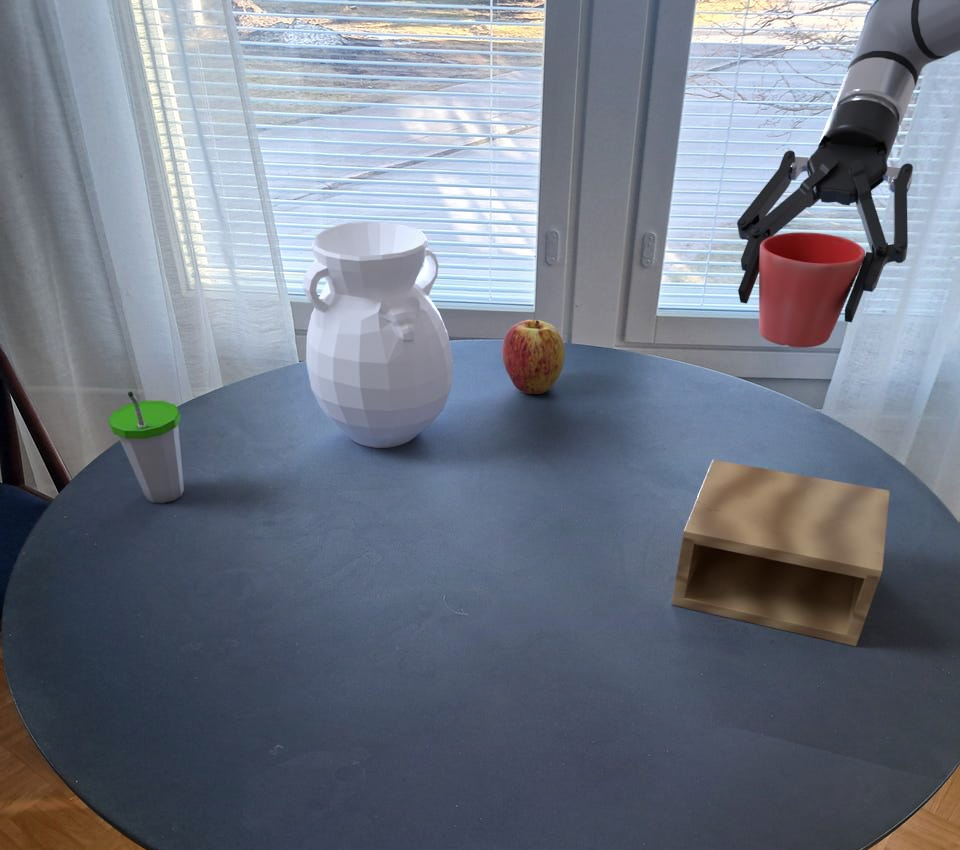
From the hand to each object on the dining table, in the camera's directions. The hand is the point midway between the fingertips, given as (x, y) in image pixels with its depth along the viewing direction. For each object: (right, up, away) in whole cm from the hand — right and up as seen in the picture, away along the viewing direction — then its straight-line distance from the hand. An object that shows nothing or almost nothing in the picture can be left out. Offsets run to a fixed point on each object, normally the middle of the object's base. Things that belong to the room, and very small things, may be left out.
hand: (794, 306), depth 98 cm
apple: (-27, 0, +33) cm, 42 cm away
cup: (-73, -19, +11) cm, 76 cm away
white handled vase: (-47, -9, +23) cm, 53 cm away
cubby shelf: (-4, -31, -4) cm, 31 cm away
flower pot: (+2, -2, +5) cm, 5 cm away
